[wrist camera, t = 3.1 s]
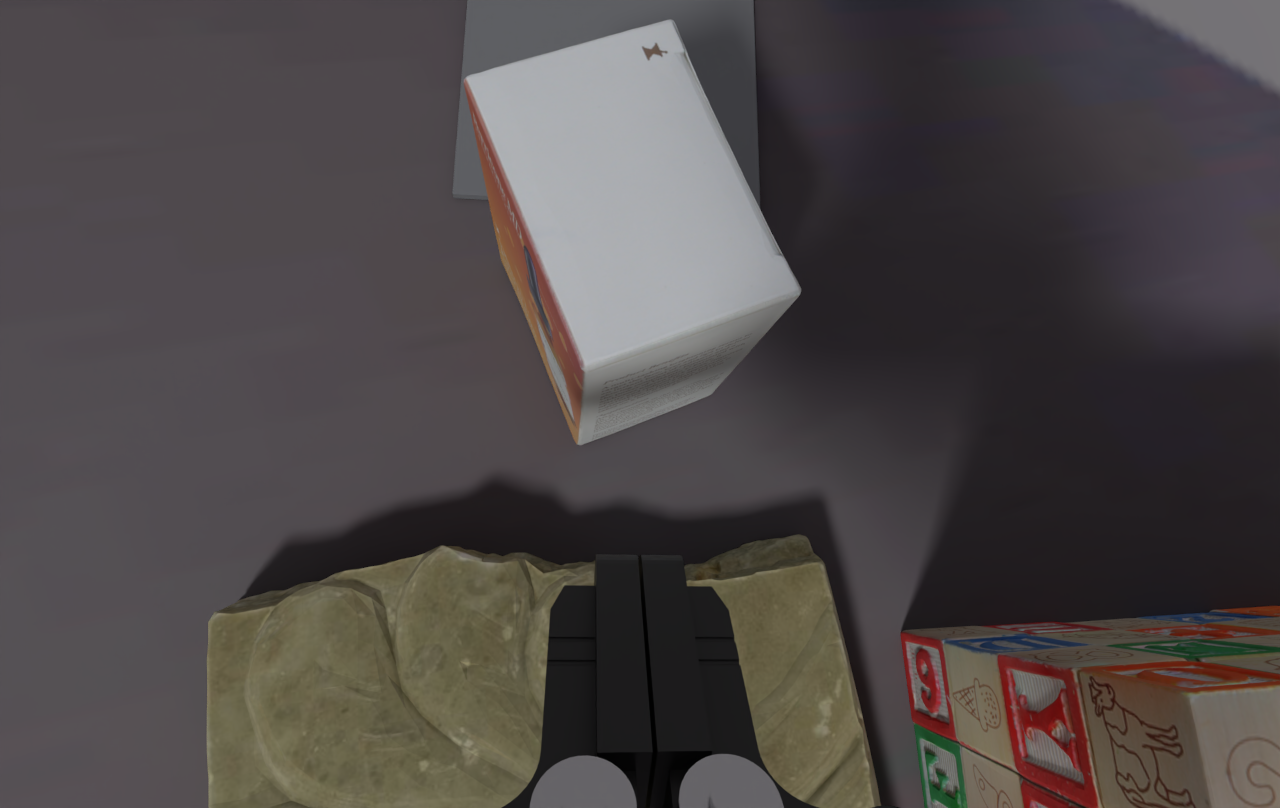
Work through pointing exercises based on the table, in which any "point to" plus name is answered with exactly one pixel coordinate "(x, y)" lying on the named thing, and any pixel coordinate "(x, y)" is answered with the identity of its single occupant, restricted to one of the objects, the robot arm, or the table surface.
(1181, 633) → the stack of blocks
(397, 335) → the table surface
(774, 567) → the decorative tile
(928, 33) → the table surface
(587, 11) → the mat
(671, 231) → the small box
